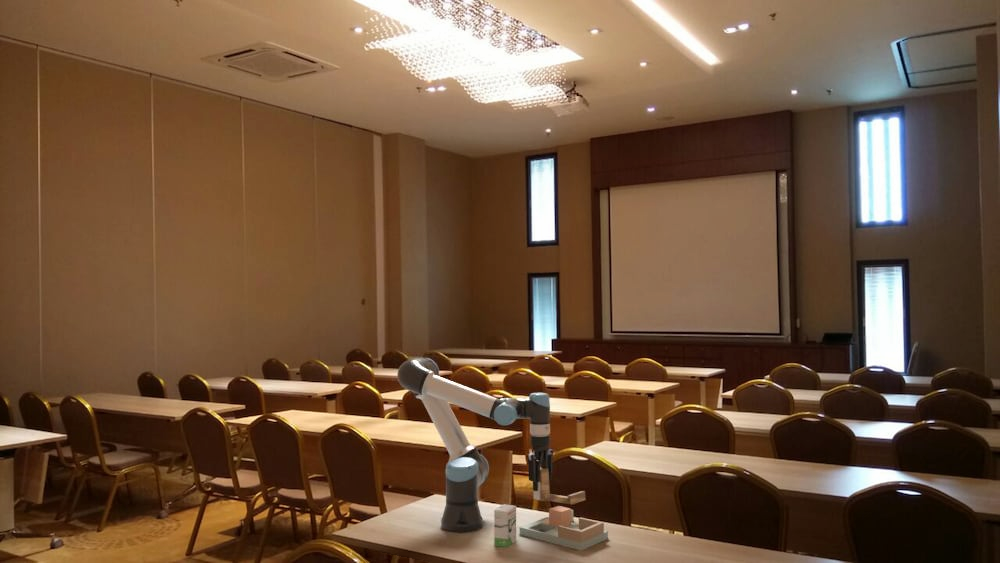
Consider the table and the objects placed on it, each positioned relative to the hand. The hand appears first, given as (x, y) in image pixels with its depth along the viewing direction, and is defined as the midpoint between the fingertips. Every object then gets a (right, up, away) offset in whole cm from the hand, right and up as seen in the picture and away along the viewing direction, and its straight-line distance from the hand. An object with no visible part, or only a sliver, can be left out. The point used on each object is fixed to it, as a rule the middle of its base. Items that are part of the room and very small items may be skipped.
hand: (541, 497), depth 270 cm
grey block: (+9, -8, -2) cm, 12 cm away
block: (+6, -5, -15) cm, 17 cm away
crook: (+6, 0, -2) cm, 7 cm away
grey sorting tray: (+7, -7, -20) cm, 22 cm away
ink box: (-13, -8, -26) cm, 31 cm away
